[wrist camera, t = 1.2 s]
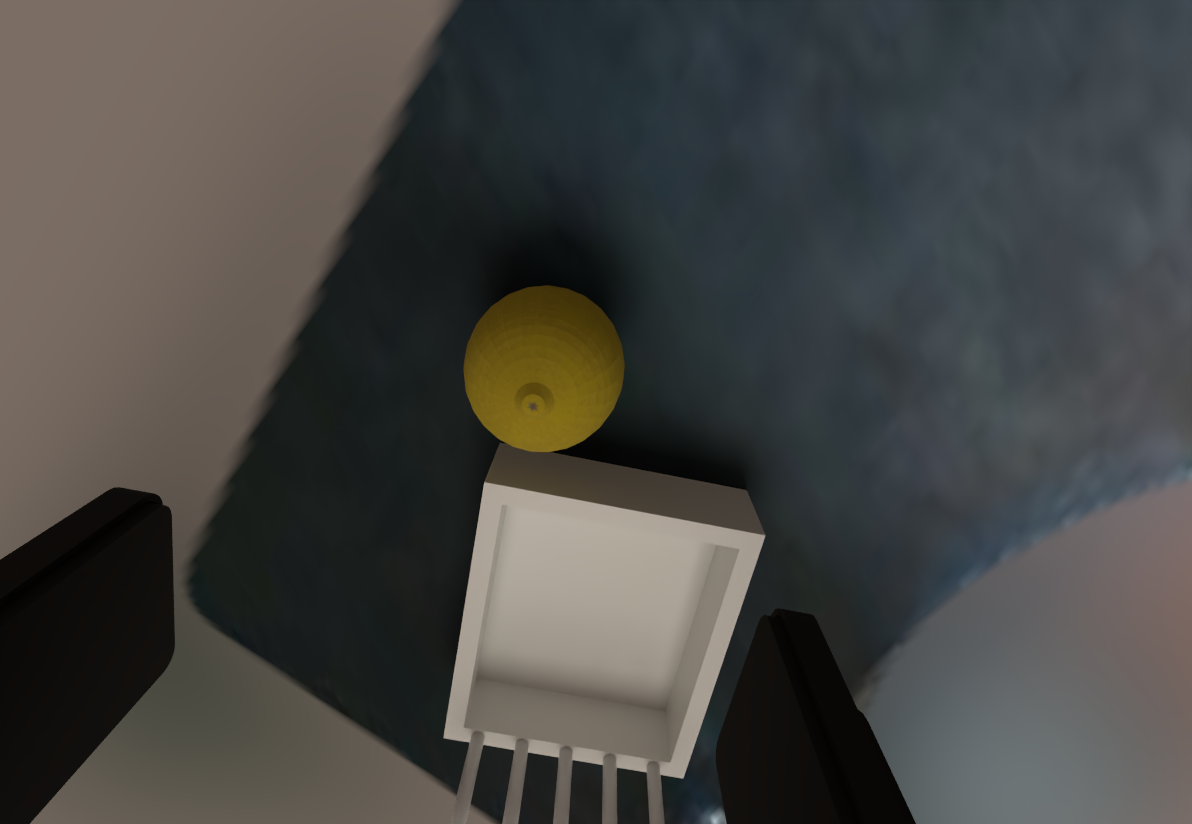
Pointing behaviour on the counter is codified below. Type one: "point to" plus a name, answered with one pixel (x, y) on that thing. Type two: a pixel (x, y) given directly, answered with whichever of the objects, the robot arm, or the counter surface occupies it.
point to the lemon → (543, 368)
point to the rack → (595, 620)
